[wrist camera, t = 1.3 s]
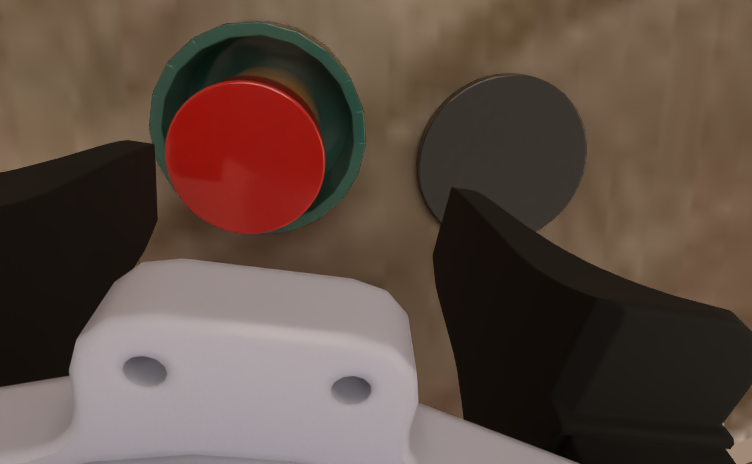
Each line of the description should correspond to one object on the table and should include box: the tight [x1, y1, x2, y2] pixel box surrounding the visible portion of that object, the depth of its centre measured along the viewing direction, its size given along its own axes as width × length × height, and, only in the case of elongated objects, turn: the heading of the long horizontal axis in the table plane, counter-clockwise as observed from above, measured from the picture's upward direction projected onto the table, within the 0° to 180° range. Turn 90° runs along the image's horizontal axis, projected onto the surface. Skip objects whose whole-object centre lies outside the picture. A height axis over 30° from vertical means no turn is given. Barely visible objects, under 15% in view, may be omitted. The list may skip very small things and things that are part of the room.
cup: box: [149, 21, 366, 234], centre depth 21 cm, size 8×8×4 cm
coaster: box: [417, 73, 587, 232], centre depth 24 cm, size 8×8×1 cm
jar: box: [165, 65, 326, 234], centre depth 19 cm, size 5×5×8 cm
